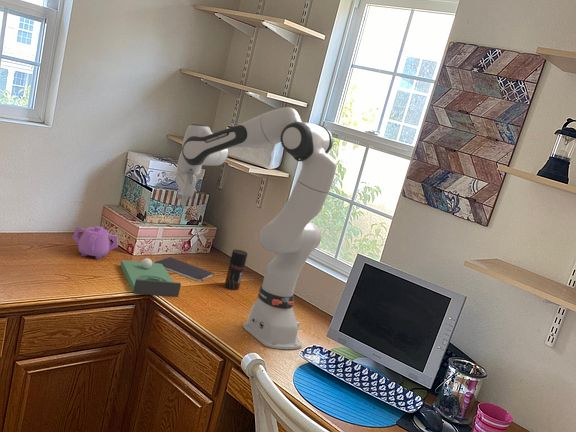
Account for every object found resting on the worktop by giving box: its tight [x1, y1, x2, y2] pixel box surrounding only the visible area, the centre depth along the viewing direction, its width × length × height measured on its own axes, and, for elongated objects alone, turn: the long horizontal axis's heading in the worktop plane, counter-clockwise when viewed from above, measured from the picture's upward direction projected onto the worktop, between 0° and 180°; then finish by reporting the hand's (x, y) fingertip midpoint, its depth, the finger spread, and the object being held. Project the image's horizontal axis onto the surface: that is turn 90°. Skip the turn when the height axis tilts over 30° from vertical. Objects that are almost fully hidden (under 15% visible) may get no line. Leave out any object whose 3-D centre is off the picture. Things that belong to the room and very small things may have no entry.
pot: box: [71, 225, 119, 260], centre depth 233 cm, size 18×17×12 cm
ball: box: [140, 257, 153, 269], centre depth 227 cm, size 4×4×4 cm
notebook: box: [154, 256, 215, 282], centre depth 244 cm, size 13×2×21 cm
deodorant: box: [223, 249, 248, 291], centre depth 237 cm, size 6×6×15 cm
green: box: [119, 259, 182, 298], centre depth 221 cm, size 27×16×5 cm, turn 26°
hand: (180, 201), depth 223 cm, fingers open, 8 cm apart
